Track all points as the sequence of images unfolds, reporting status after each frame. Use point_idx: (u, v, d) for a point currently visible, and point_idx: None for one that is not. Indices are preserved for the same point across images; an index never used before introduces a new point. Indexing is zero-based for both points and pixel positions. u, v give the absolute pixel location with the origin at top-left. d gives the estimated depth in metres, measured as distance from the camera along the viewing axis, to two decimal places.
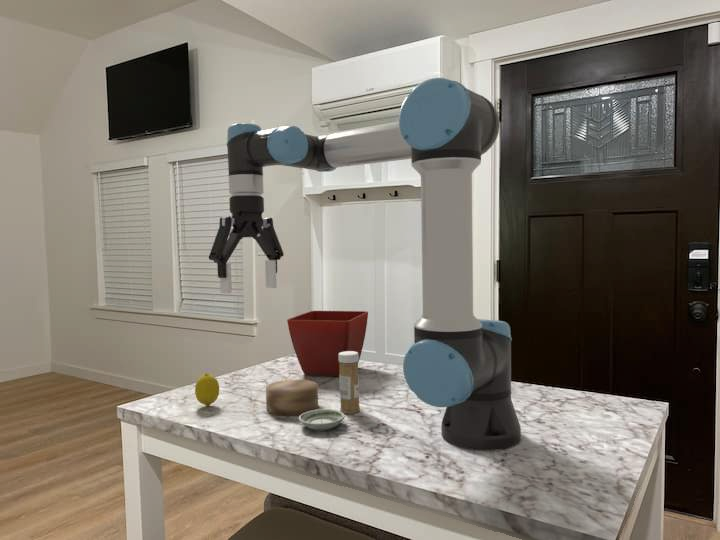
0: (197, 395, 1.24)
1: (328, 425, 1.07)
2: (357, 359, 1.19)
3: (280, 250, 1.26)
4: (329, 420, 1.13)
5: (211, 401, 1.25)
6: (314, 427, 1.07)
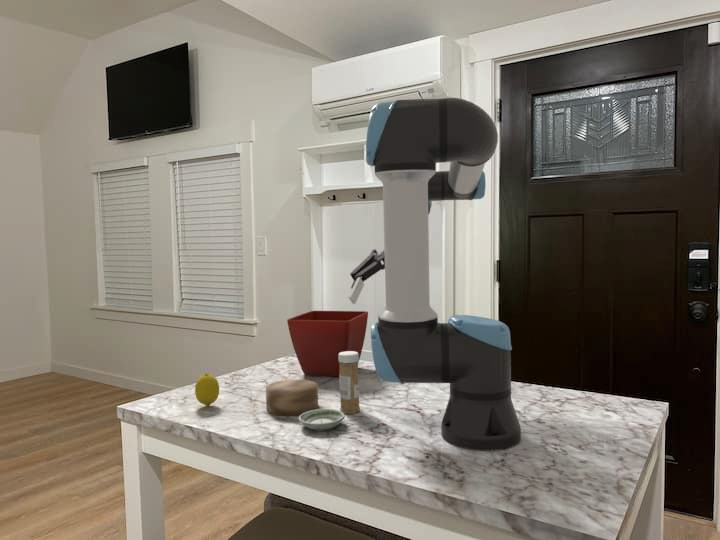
0: (197, 395, 1.24)
1: (328, 425, 1.07)
2: (357, 359, 1.19)
3: None
4: (329, 420, 1.13)
5: (211, 401, 1.25)
6: (314, 427, 1.07)
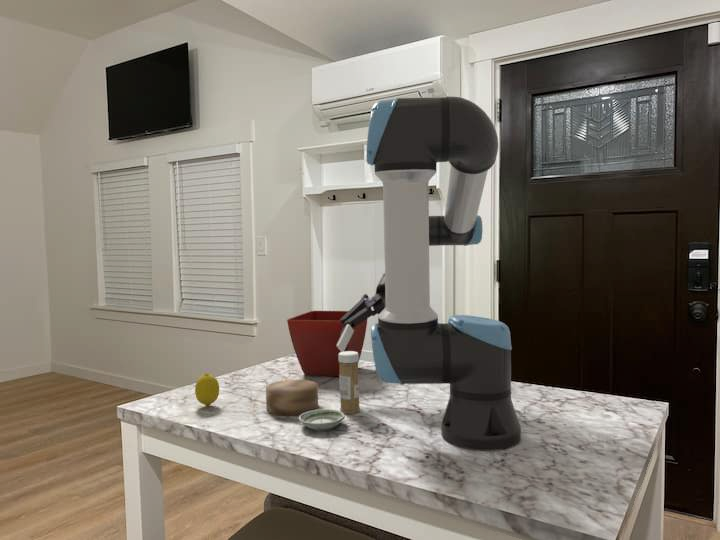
0: (197, 395, 1.24)
1: (328, 424, 1.07)
2: (357, 359, 1.19)
3: None
4: (329, 420, 1.13)
5: (211, 401, 1.25)
6: (315, 427, 1.07)
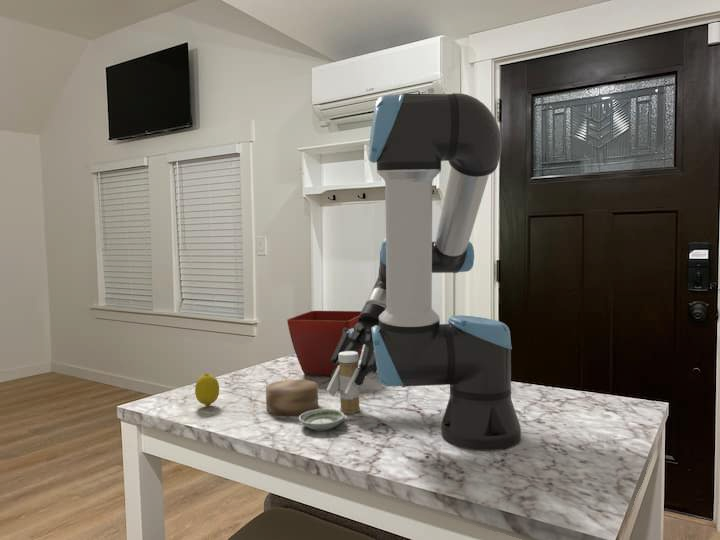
0: (197, 395, 1.24)
1: (329, 425, 1.07)
2: (357, 359, 1.19)
3: (371, 361, 1.19)
4: (329, 420, 1.13)
5: (211, 401, 1.25)
6: (315, 427, 1.07)
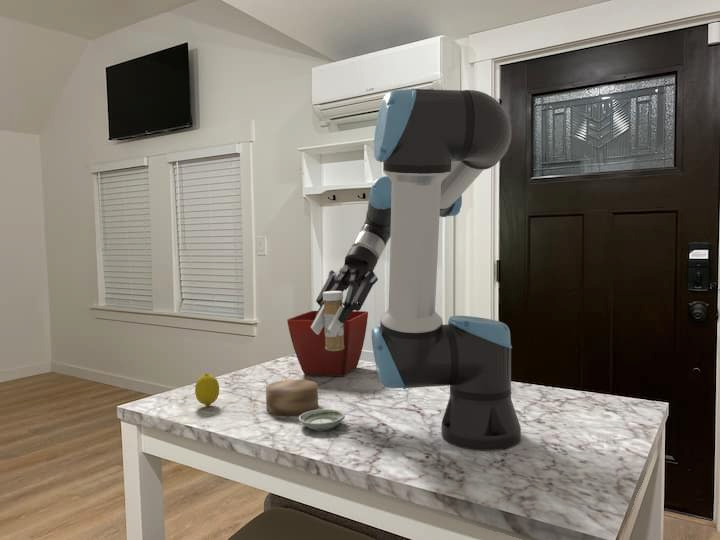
0: (197, 395, 1.24)
1: (330, 424, 1.07)
2: (341, 298, 1.21)
3: (355, 299, 1.20)
4: (328, 420, 1.13)
5: (211, 401, 1.25)
6: (316, 427, 1.07)
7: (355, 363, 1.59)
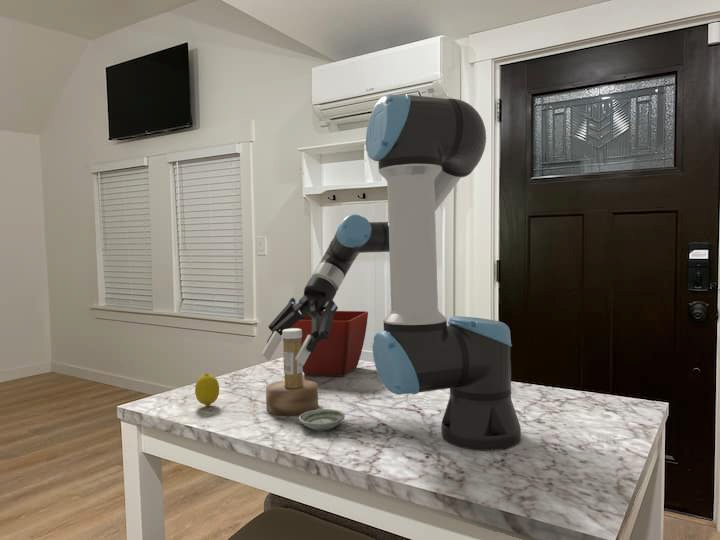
0: (197, 395, 1.24)
1: (331, 424, 1.07)
2: (301, 336, 1.23)
3: (322, 328, 1.21)
4: (328, 420, 1.13)
5: (211, 401, 1.25)
6: (317, 427, 1.07)
7: (355, 363, 1.59)
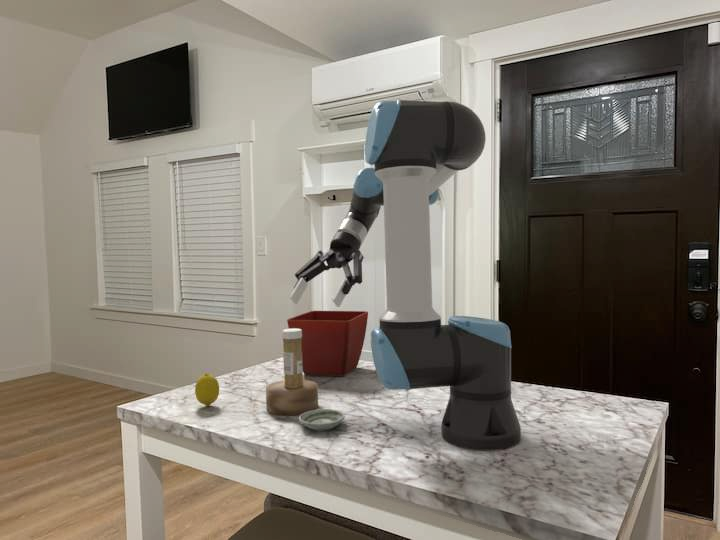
0: (197, 395, 1.24)
1: (331, 424, 1.07)
2: (301, 336, 1.22)
3: (355, 272, 1.29)
4: (328, 420, 1.13)
5: (211, 401, 1.25)
6: (317, 427, 1.07)
7: (355, 363, 1.59)
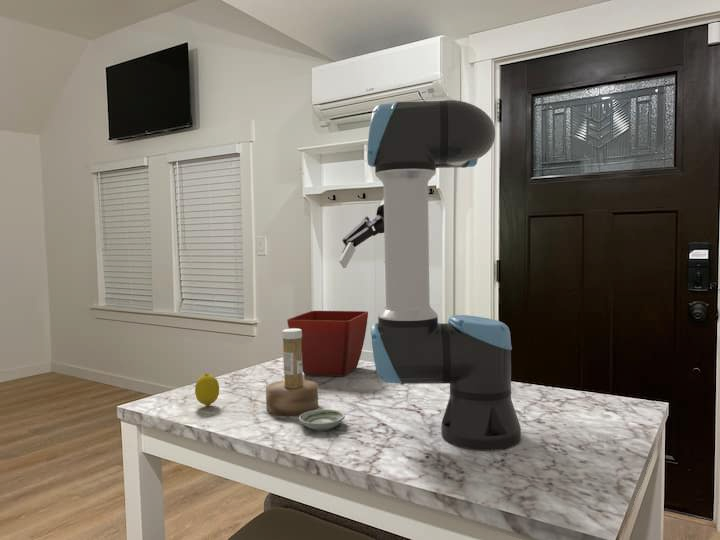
0: (197, 395, 1.24)
1: (332, 424, 1.07)
2: (300, 336, 1.22)
3: None
4: (328, 420, 1.13)
5: (211, 401, 1.25)
6: (318, 427, 1.07)
7: (355, 363, 1.59)
